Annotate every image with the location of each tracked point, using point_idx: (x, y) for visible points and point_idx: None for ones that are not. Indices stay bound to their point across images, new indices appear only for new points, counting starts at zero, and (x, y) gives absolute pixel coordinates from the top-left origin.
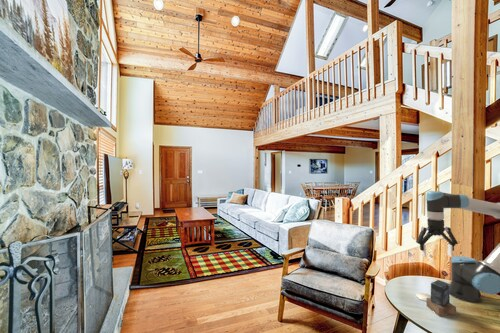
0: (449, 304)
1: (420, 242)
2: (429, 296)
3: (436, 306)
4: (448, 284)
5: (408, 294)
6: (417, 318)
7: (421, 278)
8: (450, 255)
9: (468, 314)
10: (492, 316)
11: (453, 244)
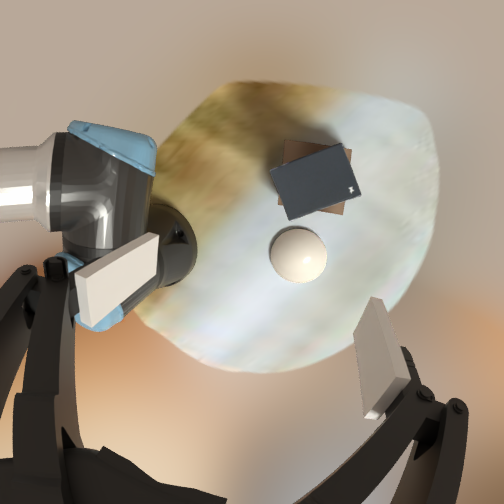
0: (292, 159)
1: (450, 412)
2: (281, 256)
3: (350, 160)
4: (280, 166)
5: (339, 285)
6: (423, 156)
7: (210, 352)
8: (152, 248)
9: (238, 146)
10: (178, 134)
11: (57, 273)
